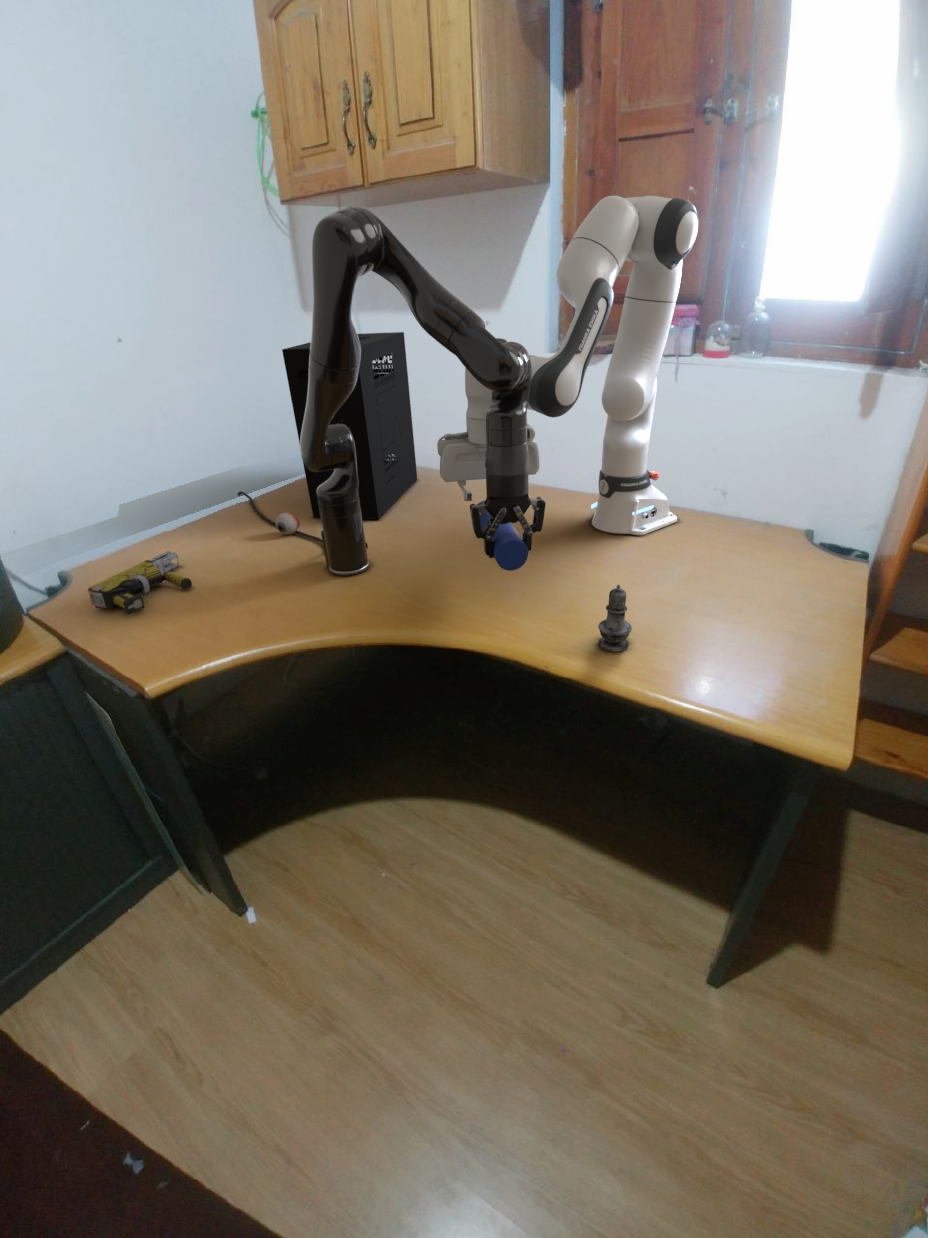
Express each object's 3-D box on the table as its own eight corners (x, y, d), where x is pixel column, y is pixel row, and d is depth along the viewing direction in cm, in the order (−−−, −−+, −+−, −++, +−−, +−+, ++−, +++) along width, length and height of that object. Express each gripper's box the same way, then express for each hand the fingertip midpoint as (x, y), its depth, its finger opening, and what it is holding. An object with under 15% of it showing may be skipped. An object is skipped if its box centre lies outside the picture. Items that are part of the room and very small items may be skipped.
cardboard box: (378, 519, 171) (356, 347, 149) (313, 517, 176) (282, 349, 153) (417, 479, 203) (403, 331, 180) (361, 478, 207) (341, 334, 185)
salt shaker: (630, 653, 106) (637, 593, 100) (596, 651, 107) (601, 591, 101) (629, 636, 111) (635, 577, 105) (597, 634, 112) (601, 576, 106)
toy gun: (215, 559, 144) (165, 548, 148) (137, 602, 124) (81, 588, 128) (218, 577, 147) (168, 566, 151) (142, 621, 127) (87, 607, 131)
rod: (473, 528, 132) (472, 501, 129) (501, 525, 133) (500, 498, 129) (496, 572, 112) (495, 541, 109) (528, 568, 113) (528, 538, 110)
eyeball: (273, 537, 164) (268, 516, 161) (287, 528, 169) (282, 508, 166) (291, 539, 161) (286, 518, 158) (305, 530, 166) (301, 510, 163)
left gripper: (470, 477, 102) (474, 567, 110) (552, 469, 104) (550, 558, 112) (463, 465, 108) (467, 551, 117) (540, 458, 110) (539, 543, 118)
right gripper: (438, 438, 114) (442, 507, 121) (543, 430, 117) (541, 498, 124) (434, 430, 120) (438, 497, 127) (534, 423, 122) (532, 489, 129)
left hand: (508, 554), depth 114 cm, fingers closed on rod, 6 cm apart
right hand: (490, 498), depth 125 cm, fingers open, 8 cm apart
